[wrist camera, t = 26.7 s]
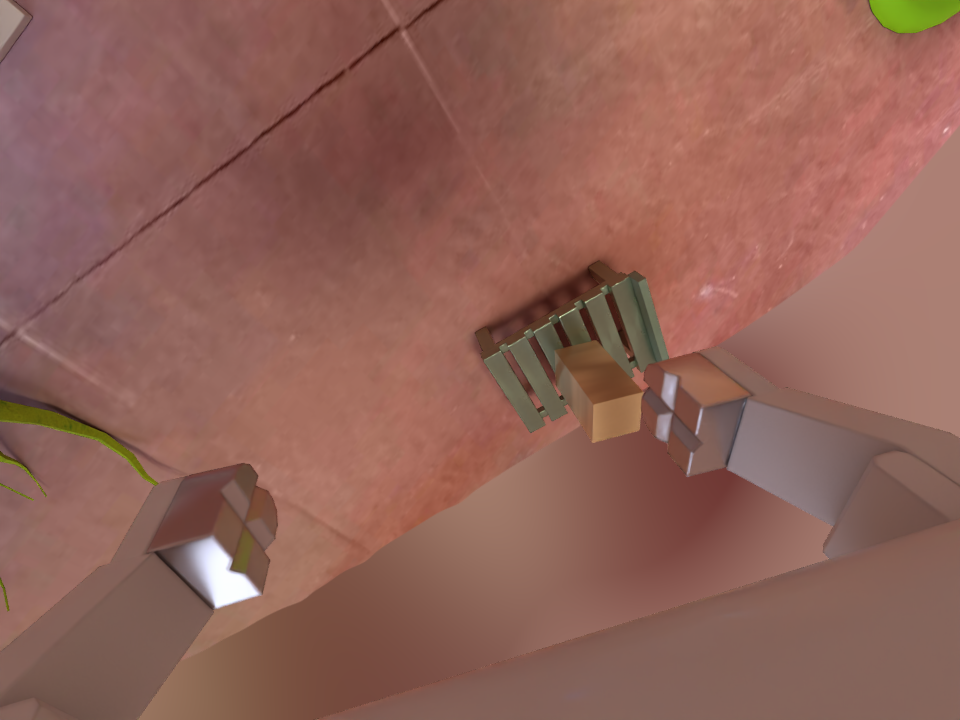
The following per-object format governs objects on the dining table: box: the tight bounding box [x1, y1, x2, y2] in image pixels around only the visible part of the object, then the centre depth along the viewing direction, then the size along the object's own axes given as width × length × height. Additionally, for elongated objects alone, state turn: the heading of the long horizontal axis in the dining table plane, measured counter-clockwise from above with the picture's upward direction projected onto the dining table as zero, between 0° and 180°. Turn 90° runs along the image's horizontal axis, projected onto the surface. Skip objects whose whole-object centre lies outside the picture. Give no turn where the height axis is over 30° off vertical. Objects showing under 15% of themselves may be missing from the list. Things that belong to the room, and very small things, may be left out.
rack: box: [475, 261, 669, 433], centre depth 45 cm, size 17×12×8 cm
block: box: [554, 340, 643, 443], centre depth 40 cm, size 4×4×9 cm
